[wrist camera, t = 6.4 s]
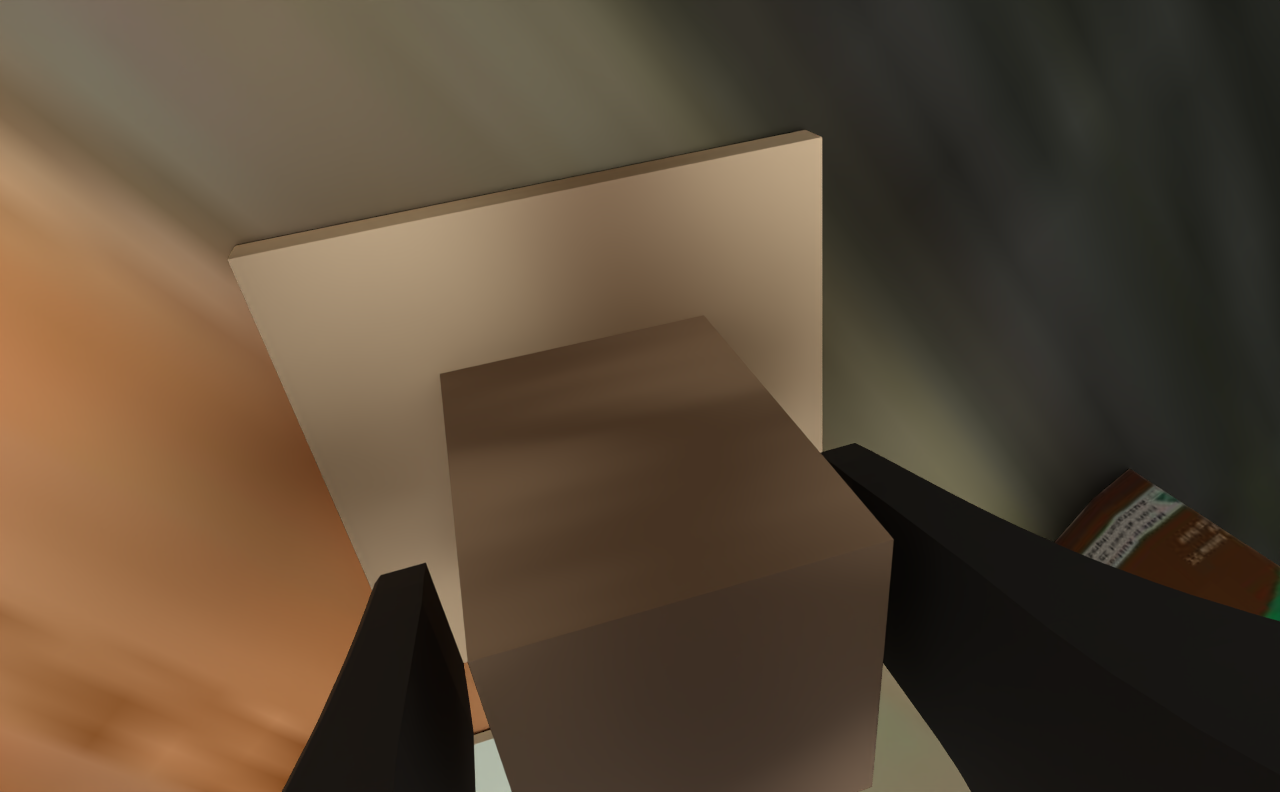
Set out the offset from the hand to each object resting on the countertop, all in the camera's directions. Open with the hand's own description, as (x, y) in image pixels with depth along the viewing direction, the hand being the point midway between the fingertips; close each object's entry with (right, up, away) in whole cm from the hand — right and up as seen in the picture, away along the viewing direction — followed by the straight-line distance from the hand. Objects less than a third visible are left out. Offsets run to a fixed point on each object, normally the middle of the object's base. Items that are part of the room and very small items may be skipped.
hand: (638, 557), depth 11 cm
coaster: (-1, +2, +3) cm, 4 cm away
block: (-1, +1, +3) cm, 3 cm away
